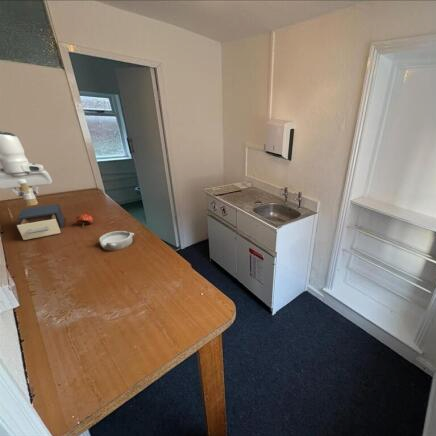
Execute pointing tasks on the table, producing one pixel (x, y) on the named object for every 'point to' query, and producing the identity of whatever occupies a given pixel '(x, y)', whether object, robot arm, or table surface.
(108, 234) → the dish
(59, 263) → the table surface
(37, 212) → the cabinet
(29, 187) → the sprinkles bottle
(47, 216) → the drawer
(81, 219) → the red mushroom
